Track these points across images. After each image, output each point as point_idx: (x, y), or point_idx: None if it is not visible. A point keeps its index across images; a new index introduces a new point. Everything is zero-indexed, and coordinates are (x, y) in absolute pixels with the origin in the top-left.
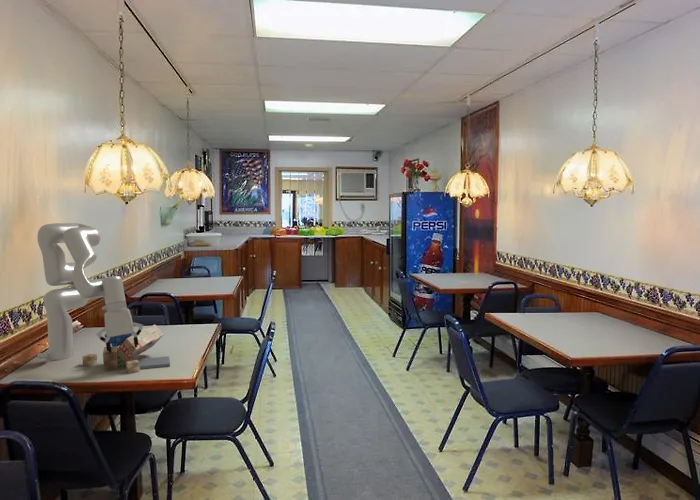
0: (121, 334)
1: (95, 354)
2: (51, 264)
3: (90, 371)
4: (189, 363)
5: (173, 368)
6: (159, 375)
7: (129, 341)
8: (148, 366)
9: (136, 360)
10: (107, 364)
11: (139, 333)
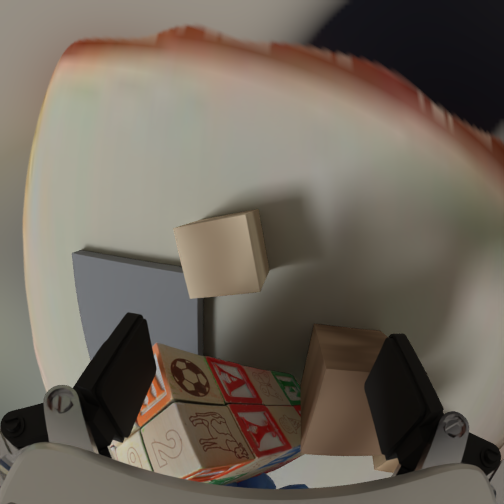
0: (242, 497)
1: (381, 466)
2: None
3: (432, 342)
4: (39, 260)
5: (71, 211)
6: (122, 112)
7: (185, 431)
8: (151, 266)
9: (191, 281)
10: (372, 339)
11: (29, 408)
